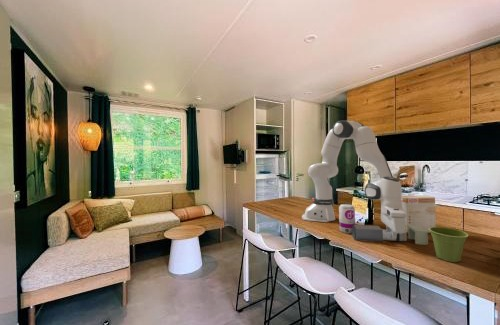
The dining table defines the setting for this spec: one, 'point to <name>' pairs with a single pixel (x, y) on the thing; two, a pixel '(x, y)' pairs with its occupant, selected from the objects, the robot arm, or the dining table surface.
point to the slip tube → (388, 237)
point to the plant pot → (448, 243)
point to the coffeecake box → (419, 211)
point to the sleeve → (367, 233)
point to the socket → (418, 234)
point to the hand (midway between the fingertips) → (391, 236)
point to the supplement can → (346, 218)
